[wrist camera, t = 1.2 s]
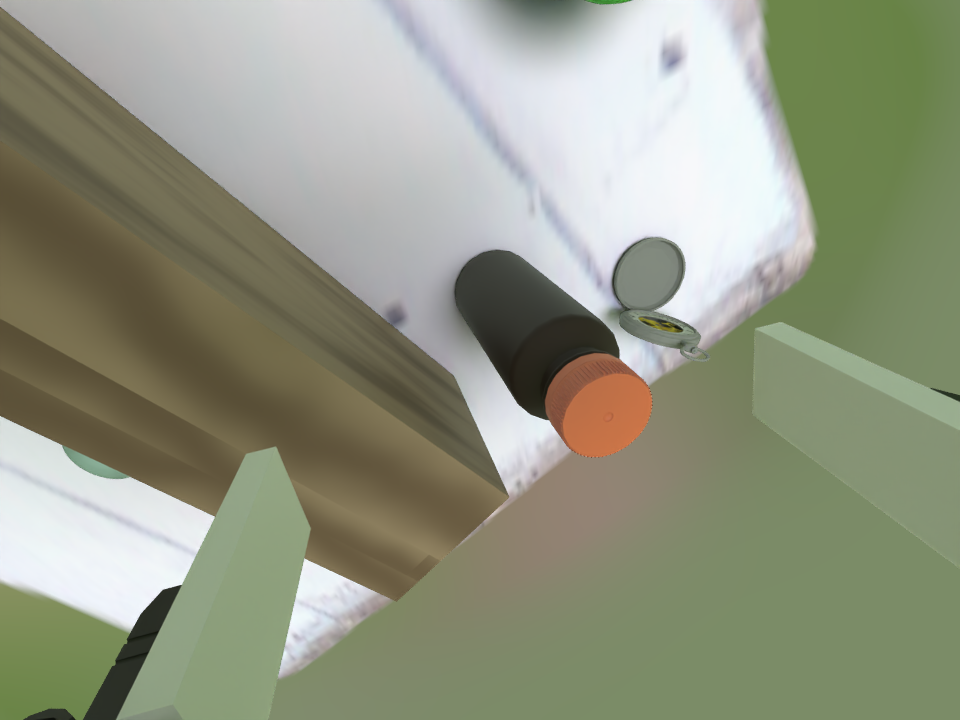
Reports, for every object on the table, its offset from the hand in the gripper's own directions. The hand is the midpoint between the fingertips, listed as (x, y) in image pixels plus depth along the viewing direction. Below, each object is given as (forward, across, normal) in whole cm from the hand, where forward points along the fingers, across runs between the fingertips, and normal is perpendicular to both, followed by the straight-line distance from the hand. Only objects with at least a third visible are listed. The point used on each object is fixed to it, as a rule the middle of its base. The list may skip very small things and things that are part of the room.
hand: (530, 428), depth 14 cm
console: (+27, -15, +1) cm, 31 cm away
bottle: (+29, +3, -4) cm, 29 cm away
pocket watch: (+30, +17, -8) cm, 35 cm away
